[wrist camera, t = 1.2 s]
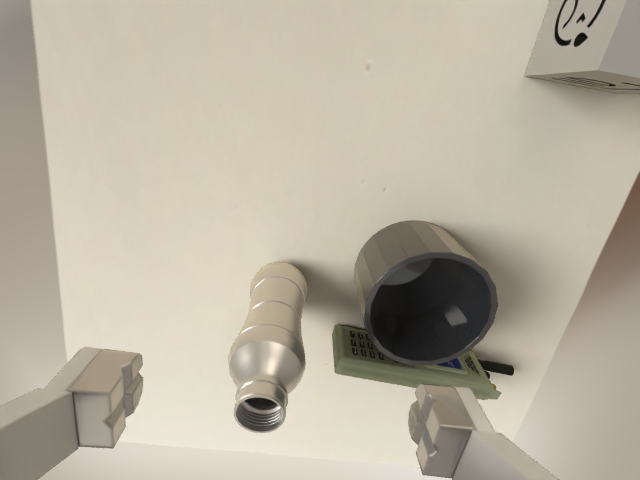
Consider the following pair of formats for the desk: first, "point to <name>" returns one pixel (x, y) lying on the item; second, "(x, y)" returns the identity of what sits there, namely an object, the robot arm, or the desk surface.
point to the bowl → (422, 294)
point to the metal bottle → (269, 348)
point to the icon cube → (589, 45)
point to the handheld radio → (411, 366)
